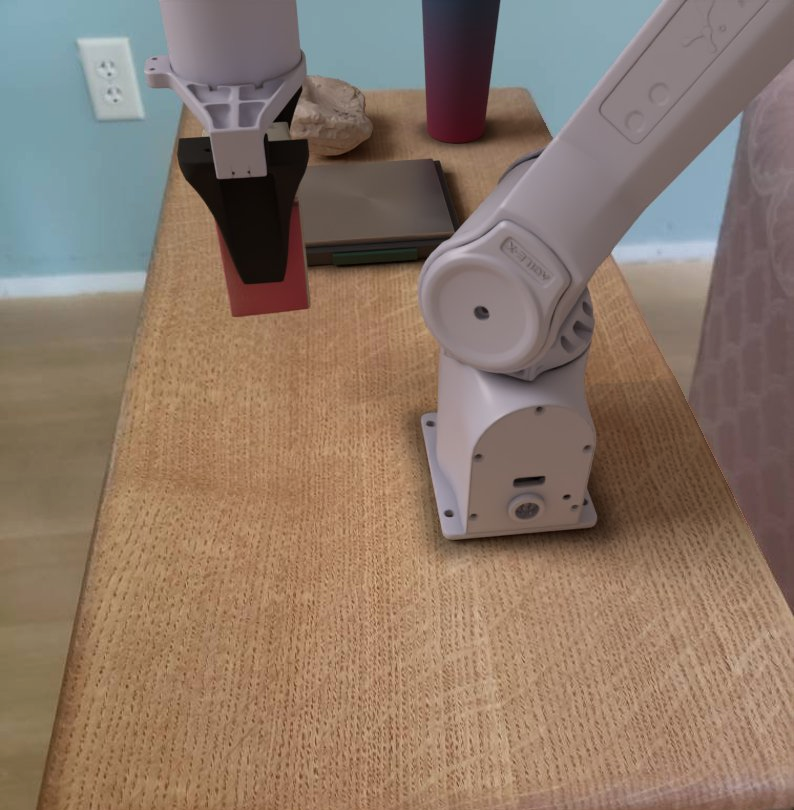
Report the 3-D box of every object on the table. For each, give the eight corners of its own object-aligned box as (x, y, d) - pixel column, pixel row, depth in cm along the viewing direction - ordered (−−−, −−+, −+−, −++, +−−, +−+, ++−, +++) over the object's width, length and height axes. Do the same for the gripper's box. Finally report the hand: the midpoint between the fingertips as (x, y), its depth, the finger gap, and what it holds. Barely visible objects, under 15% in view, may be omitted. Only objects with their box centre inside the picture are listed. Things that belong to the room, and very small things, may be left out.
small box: (225, 269, 48) (199, 126, 42) (301, 261, 48) (287, 118, 42) (230, 321, 44) (203, 173, 39) (313, 311, 45) (298, 164, 39)
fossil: (349, 72, 77) (386, 62, 68) (355, 151, 79) (392, 151, 71) (253, 77, 74) (279, 67, 66) (263, 159, 77) (289, 159, 68)
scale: (465, 258, 61) (466, 239, 60) (284, 270, 60) (282, 251, 59) (439, 171, 70) (440, 153, 69) (280, 181, 69) (278, 163, 68)
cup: (465, 155, 72) (476, -54, 61) (401, 134, 75) (400, -69, 64) (509, 126, 76) (526, -75, 65) (446, 108, 79) (452, -89, 67)
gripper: (135, -100, 39) (191, 187, 49) (98, 7, 29) (177, 336, 40) (290, -106, 39) (314, 179, 50) (303, -3, 30) (330, 325, 40)
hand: (262, 249), depth 45 cm, fingers closed on small box, 5 cm apart
